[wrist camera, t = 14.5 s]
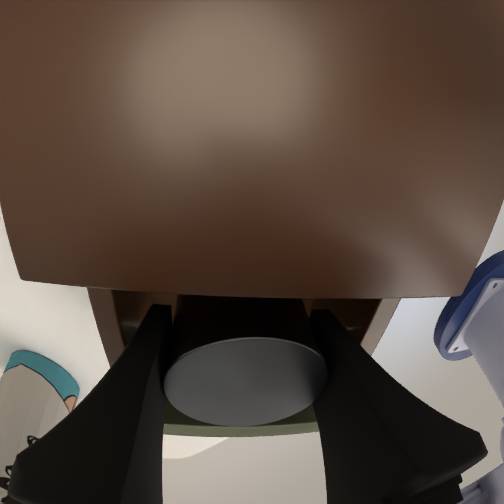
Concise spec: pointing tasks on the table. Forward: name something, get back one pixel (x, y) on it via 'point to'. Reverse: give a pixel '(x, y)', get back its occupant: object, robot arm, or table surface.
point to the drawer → (138, 303)
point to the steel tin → (242, 359)
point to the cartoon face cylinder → (30, 407)
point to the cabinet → (252, 144)
